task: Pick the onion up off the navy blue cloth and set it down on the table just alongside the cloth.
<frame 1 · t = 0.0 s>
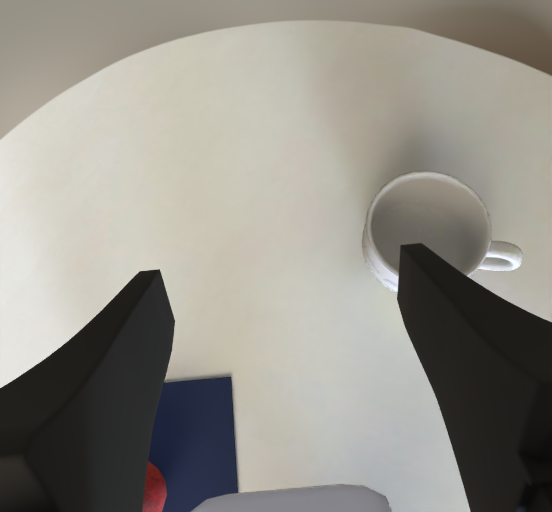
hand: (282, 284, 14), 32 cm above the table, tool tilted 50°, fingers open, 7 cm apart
teacup: (422, 258, 47), on the table
onion: (145, 485, 42), resting on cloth
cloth: (156, 496, 42), on the table
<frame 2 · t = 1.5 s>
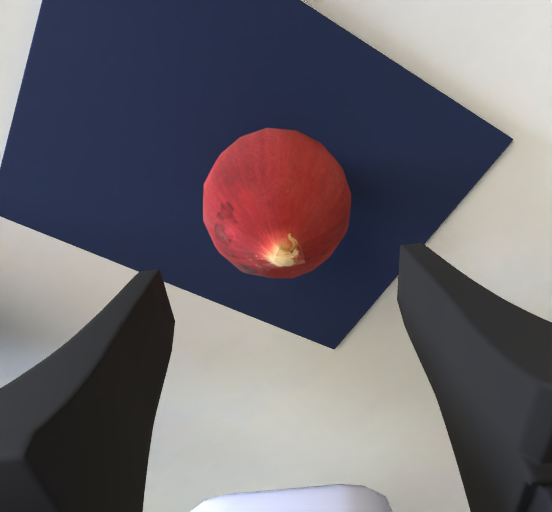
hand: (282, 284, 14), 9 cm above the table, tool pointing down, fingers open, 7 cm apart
onion: (273, 167, 21), resting on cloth
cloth: (244, 174, 22), on the table
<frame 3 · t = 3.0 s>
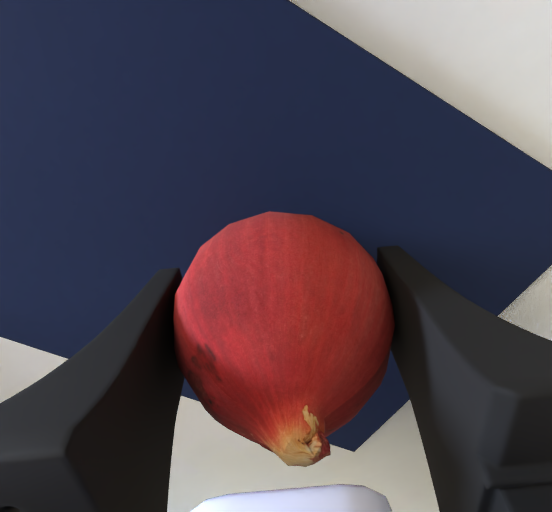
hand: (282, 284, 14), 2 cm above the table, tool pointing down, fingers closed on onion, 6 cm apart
onion: (277, 244, 16), resting on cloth, touching gripper
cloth: (239, 252, 16), on the table
when the fingers open (2 cm above the table, at t = 7.8 s): onion stays where it is, on the table.
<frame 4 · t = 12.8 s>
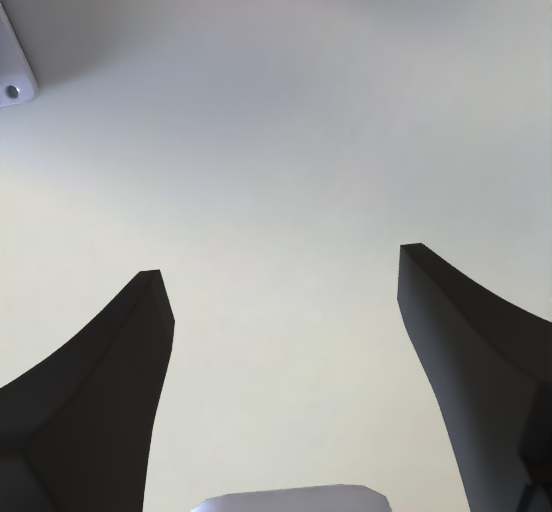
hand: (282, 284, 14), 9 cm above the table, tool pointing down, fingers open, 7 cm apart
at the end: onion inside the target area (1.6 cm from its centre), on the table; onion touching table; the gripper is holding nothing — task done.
